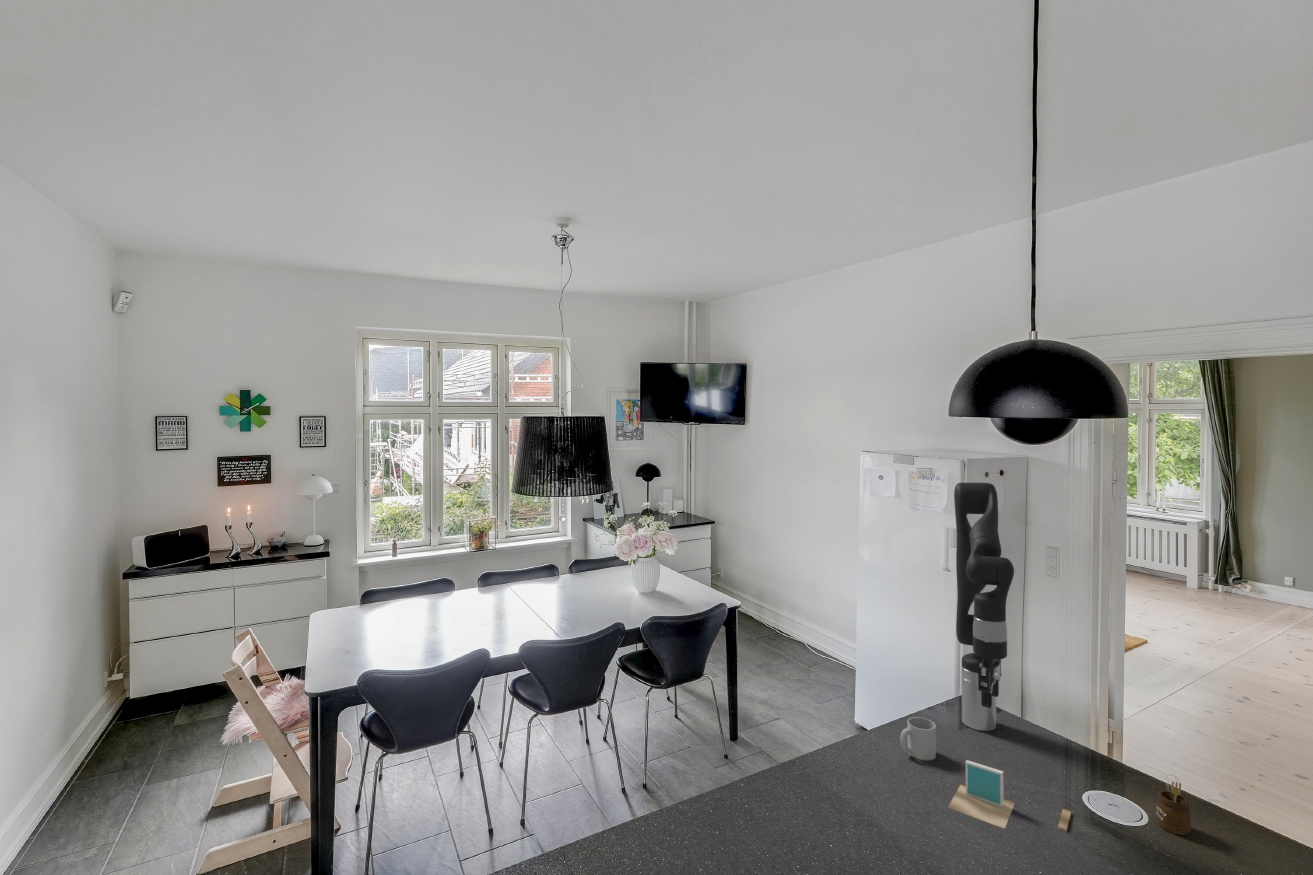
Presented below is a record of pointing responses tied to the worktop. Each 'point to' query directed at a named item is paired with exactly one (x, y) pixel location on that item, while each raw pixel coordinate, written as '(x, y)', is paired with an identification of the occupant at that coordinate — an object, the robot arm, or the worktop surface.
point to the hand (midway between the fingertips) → (990, 700)
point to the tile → (984, 783)
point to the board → (981, 808)
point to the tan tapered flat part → (1064, 820)
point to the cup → (919, 738)
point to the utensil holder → (1173, 811)
